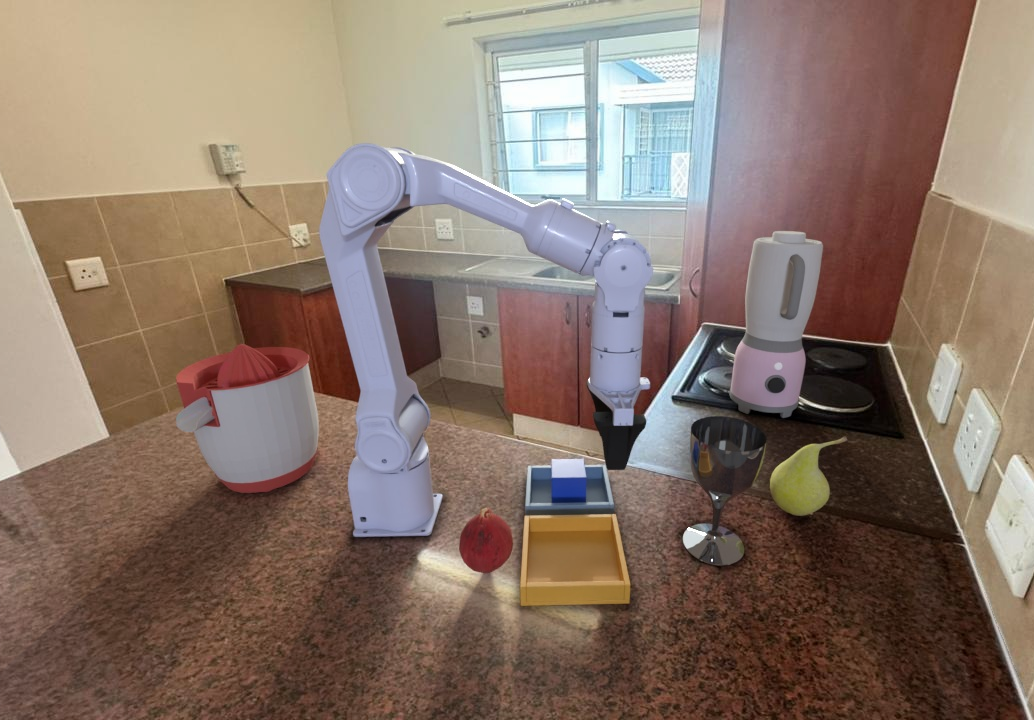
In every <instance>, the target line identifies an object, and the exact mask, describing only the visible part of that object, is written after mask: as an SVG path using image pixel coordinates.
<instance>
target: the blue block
mask: <svg viewBox="0 0 1034 720" xmlns="http://www.w3.org/2000/svg"><path fill="white" fill-rule="evenodd" d="M550 465H551V496H552V503H585V502H586V481H587V477H586V470H585V465H586V463H585V458H552V459H550Z"/></svg>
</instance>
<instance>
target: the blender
mask: <svg viewBox="0 0 1034 720" xmlns="http://www.w3.org/2000/svg"><path fill="white" fill-rule="evenodd" d="M823 250H824V244H823V242H822V241H820V240H817V239H810V238H807V233H806V232H803V231H795V230H794V231H793V230H777V231H773V233H772V236H766V237H765V236H764V237H759V238H756V239H755V240H753V245H752V250H751V255H750V260H749V265H748V272H747V278H746V279H747V280H746V287H745V297H744V298H745V299H744V300H745V301H744V304H745V305H744V306H745V308H744V309H745V333H744V335H743V338H742V339H741V340H740V342H739V344H738V346H737V347H736V350H735V353H734V359H733V367H732V374H731V383H730V387H729V398H730V399H731V400H732V401H733V402H734V403H735V404H737V405H738V411H739V412H740V413H741V412H742V413H744V414H746V415H749V414H750V413H751V410H752V411H758V412H761V413H768V414H769V413H771V414H779V416H780V417H781V418H782V419H785V418H789V417H791V416H792V414H793V411H794V410H796V409H797V408H798V406H799V401H800V395H801V388H802V385H803V379H804V375H805V368H806V363H807V362H806V361H807V360H806V359H807V358H806V353H805V350H804V346H803V335H804V332H805V328H806V326H807V324H808V321H809V319H810V316H811V313H812V310H813V307H814V305H815V304H814V303H815V300H816V294H817V291H818V285H819V279H820V274H821V273H820V272H821V266H822V258H823V252H824V251H823Z"/></svg>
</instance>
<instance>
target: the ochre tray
mask: <svg viewBox="0 0 1034 720" xmlns="http://www.w3.org/2000/svg"><path fill="white" fill-rule="evenodd" d="M523 517H524V518H523V533H522V547H521V548H522V550H521V563H520V565H521V567H520V579H519V580H520V582H519V595H520V606H521V607H527V606H528V607H529V606H533V607H534V606H571V605H573V606H577V605H622V604H624V605H625V604H626V605H627V604H628V605H629V604H630V603H631V602H630V601H631V579H630V576H629V570H628V566H627V561H626V560H627V559H626V556H625V551H624V546H623V541H622V536H621V531H620V526H619V521H618V517H617V514H616V513H614V514H612V515H611V514H599V515H539V516H525V515H524V516H523Z"/></svg>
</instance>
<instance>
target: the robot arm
mask: <svg viewBox="0 0 1034 720" xmlns="http://www.w3.org/2000/svg"><path fill="white" fill-rule="evenodd" d="M326 179H327V184H328V191H327V195H326V199H325V203H324V207H323V211H322V215H321V219H320V223H319V227H318V228H319V229H318V235H319V240H320V245H321V248H322V252H323V256H324V259H325V263H326V266H327V270H328V274H329V278H330V281H331V286H332V289H333V292H334V293H333V294H334V297H335V301H336V304H337V307H338V312H339V315H340V319H341V322H342V326H343V330H344V333H345V338H346V342H347V345H348V348H349V352H350V356H351V360H352V364H353V367H354V371H355V374H356V375H355V376H356V378H357V382H358V386H359V389H360V393H359V398H358V403H357V407H356V412H355V416H354V421H355V424H356V428H357V435H356V438H355V441H354V451H355V454H356V456H355V457H354V458H353V459H352V461H351V464H350V466H349V469H348V475H347V491H348V499H349V503H350V510H351V515H352V519H353V520H352V521H353V526H354V529H353V530H352V536H353V537H354V538H367V537H369V538H371V537H372V538H373V537H375V538H377V537H421V536H422V537H424V536H425V537H427V536H431V534H432V533H433V530H434V527H435V523H436V520H437V518H438V514H439V511H440V508H441V504H442V501H443V499H444V496H443V494H442V493H434V489H433V478H432V470H431V469H432V468H431V460H430V451H429V446H428V443H427V442H426V439H425V435H424V434H425V433H424V432H425V431H427V429H428V427H429V425H430V422H431V417H432V416H431V409H430V407H429V405H428V404H427V403H426V402H425V400H424V399H423V398H422V397H421V395H420V393H419V390H418V385H417V383H416V381H414V380H412V378H410V377H409V376H408V374H407V370H406V366H405V362H404V361H405V360H404V357H403V352H402V348H401V344H400V340H399V335H398V330H397V326H396V323H395V318H394V314H393V309H392V305H391V300H390V296H389V293H388V287H387V283H386V278H385V275H384V270H383V266H382V261H381V257H380V253H379V248H378V243H379V241H380V240H381V239H382V237H383V236H384V235H385V234H386V232H387V231H388V229H390V227H391V226H392V224H394V222H395V221H396V220H397V219H398V218H399V217H401V216H402V215H404V214H406V213H408V212H409V211H410V210H412V209H413V208H415V207H425V206H434V205H435V206H436V205H449V206H451V207H453V208H456V209H458V210H461V211H463V212H465V213H467V214H470V215H472V216H476V217H478V218H481V219H483V220H485V221H488V222H490V223H492V224H494V225H497V226H500V227H502V228H505V229H507V230H510V231H511V232H515V233H517V234H519V235H520V236H521V237H522V239H523V241H524V244H525V247H526V249H527V251H528V252H529V253H531V254H532V255H535V256H537V257H540V258H542V259H544V260H546V261H549V262H551V263H552V264H555V265H557V266H559V267H562V268H564V269H566V270H568V271H570V272H573V273H575V274H576V275H577V274H578V275H579V276H582V277H585V276H591V277H594V280H595V281H594V300H593V302H592V305H591V334H590V361H589V365H590V366H589V377H588V380H587V381H586V382H585V384H586V388H587V390H588V392H589V394H590V396H591V399H592V402H593V405H594V411H593V412H592V418H593V422H594V425H595V427H596V430H597V431H598V434H599V437H600V438H601V442H602V449H603V458H604V462H605V465H606V467H607V471H624V470H626V467H627V466H628V462H629V460H630V457H631V453H632V450H633V447H634V445H635V443H636V441H637V439H638V437H639V436H640V434H641V433H642V432H643V431H644V430H645V428H646V426H647V419H646V416H645V414H635V408H634V406H635V405H636V402H637V400H638V397H639V395H640V393H641V391H643V390H650V389H651V381H650V379H649V378H648V377H644V376H643V377H641V374H642V373H641V372H642V359H643V342H644V328H645V314H646V313H645V312H646V306H645V296H646V287H647V286H648V284H649V283H650V281H651V280H652V277H653V273H654V267H653V266H652V260H651V256H650V254H649V252H648V250H647V249H646V247H645V246H644V245H643V244H642V243H641V242H640V241H639V240H638V239H637V238H636V237H635V236H633V235H631V234H629V233H628V231H626V230H623V229H617V224H616V223H614V222H612V221H609V220H607V221H606V222H605V223H603V222H601V221H598V220H596V219H594V218H592V217H590V216H588V215H586V214H584V213H582V212H579V211H577V210H575V209H574V207H575V203H574V202H572V201H571V200H568V199H566V198H562V199H561V201H560V202H558V201H557V200H554V199H552V198H551V199H550V198H549V199H546V200H544V201H541V202H540V203H537V204H531V203H529V202H527V201H525V200H523V199H521V198H519V197H517V196H515V195H513V194H511V193H509V192H507V191H505V190H503V189H502V188H500V187H497V186H495V185H493V184H491V183H489V182H488V181H486V180H484V179H482V178H480V177H477V176H476V175H474V174H472V173H469V172H468V171H466V170H463V169H462V168H460V167H458V166H456V165H454V164H451V163H449V162H446V161H443V160H440V159H436V158H434V157H431V156H427V155H422V154H418V153H417V154H416V153H414V152H413V151H411V150H409V149H407V148H404V147H398V146H393V147H387V146H381V145H378V144H376V143H370V142H361V143H357V144H354V145H351V146H350V147H349V148H347V149H346V150H345V151H344V152H343V153H342V154H341V155H340V157H338V159H337V160H336V161H335V162H334V163H333V165H332V166H331V167H330V168H329V169H328V170H327V172H326Z"/></svg>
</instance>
